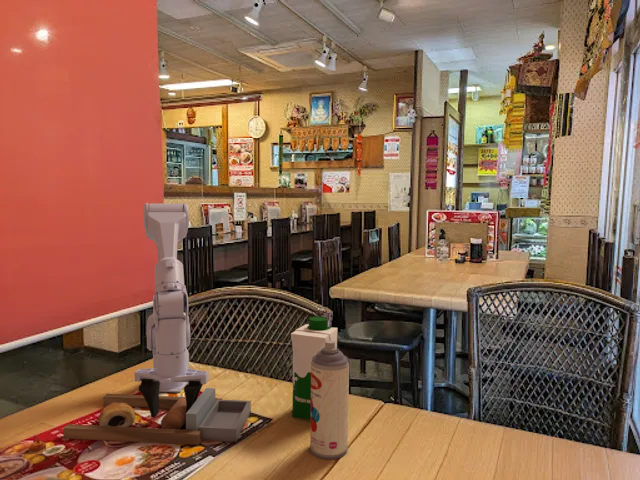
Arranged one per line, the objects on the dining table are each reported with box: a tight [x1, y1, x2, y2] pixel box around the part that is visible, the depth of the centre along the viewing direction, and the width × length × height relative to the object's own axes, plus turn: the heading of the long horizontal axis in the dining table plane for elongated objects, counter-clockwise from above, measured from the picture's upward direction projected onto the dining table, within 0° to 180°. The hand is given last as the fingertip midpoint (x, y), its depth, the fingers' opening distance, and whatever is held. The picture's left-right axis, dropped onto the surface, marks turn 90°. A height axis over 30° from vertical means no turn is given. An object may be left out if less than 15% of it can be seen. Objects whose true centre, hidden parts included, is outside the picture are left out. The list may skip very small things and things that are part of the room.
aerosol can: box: [309, 340, 350, 460], centre depth 84 cm, size 7×7×20 cm
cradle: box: [198, 399, 252, 443], centre depth 93 cm, size 12×7×2 cm, turn 176°
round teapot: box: [28, 434, 47, 455], centre depth 83 cm, size 3×3×3 cm
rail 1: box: [102, 393, 223, 409], centre depth 101 cm, size 2×26×2 cm, turn 86°
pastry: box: [98, 402, 137, 427], centre depth 95 cm, size 9×7×4 cm
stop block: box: [185, 387, 216, 430], centre depth 93 cm, size 12×2×5 cm, turn 176°
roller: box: [160, 396, 186, 429], centre depth 93 cm, size 8×4×4 cm
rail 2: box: [62, 423, 202, 446], centre depth 87 cm, size 2×26×2 cm, turn 86°
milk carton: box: [290, 315, 338, 421], centre depth 98 cm, size 9×9×20 cm
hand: (172, 416), depth 94 cm, fingers open, 7 cm apart
